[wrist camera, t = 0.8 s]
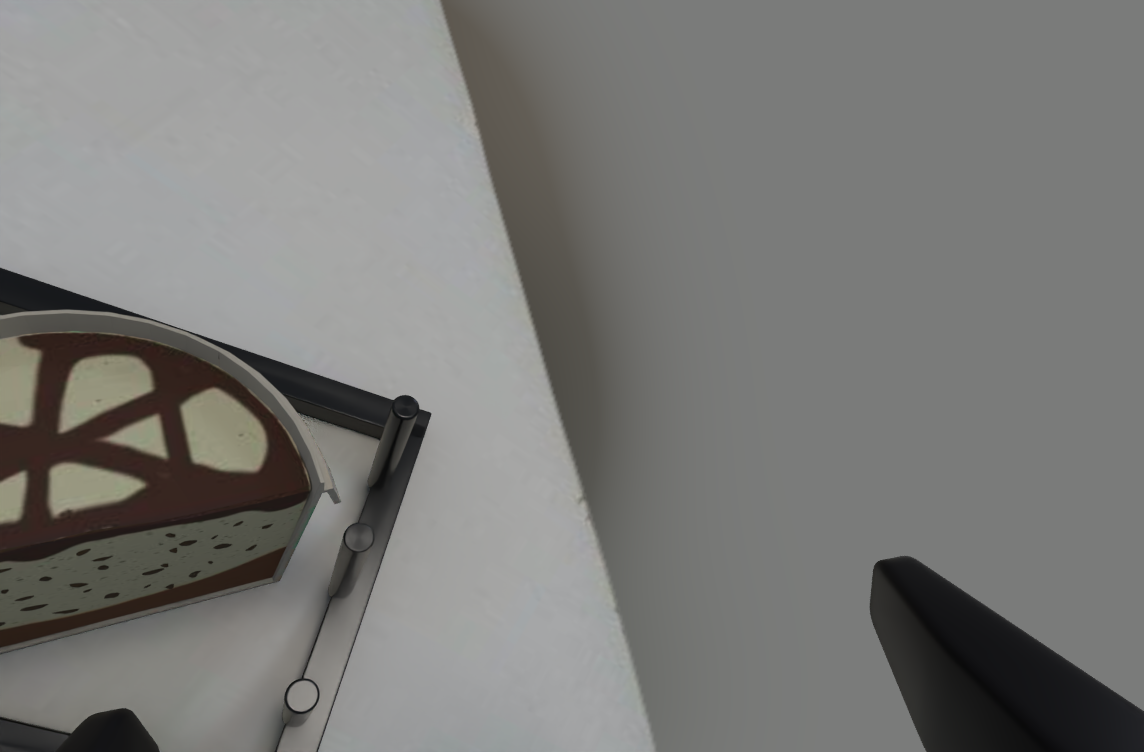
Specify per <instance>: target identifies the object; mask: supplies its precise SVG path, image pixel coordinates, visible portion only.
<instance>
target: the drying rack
mask: <svg viewBox="0 0 1144 752" xmlns="http://www.w3.org/2000/svg"><path fill="white" fill-rule="evenodd" d="M50 310H81V311H97V312H111V313H116V314H121V315H126V316H132V317H137V318H142V319H147V320H152V321H155V322H158V323H161V324H164V325H167V326H170V327H173V328H176V329H179V330H182V331H185V332H188V333H190V334H192V335H195V336H197V337H199V338H201V339H203V340H205V341H207V342H209V343H211V344H213V345H215V346H218V347H220V348H222V349H224V350H226V351H228V352H230V353H231V354H233V355H234V356H235V357H237V358H238V359H240V360H241V361H243V362H244V363H246V364H247V365H249V366H250V367H251V368H253V369H254V370H256V371H257V372H259V373H260V374H261V375H262V376H263V377H264V378H265V379H266V380H267V381H268V382H270V383H271V384H272V385H273V386H274V387H275V388H276V389H277V390H278V391H279V392H280V393H281V394H282V395H283V396H284V397H285V398H286V399H287V400H288V402H289V403H290V404H291V405H292V407H293V408H294V409H295V411H297V412H300V413H303V414H306V415H309V416H312V417H315V418H318V419H321V420H324V421H327V422H330V423H333V424H336V425H340V426H343V427H346V428H349V429H352V430H355V431H358V432H361V433H364V434H367V435H370V436H373V437H376V438H379V439H381V440H380V443H379V446H378V449H377V453H376V456H375V459H374V462H373V465H372V468H371V471H370V475H369V478H368V486H369V488H370V491H369V494H368V497H367V500H366V502H365V505H364V508H363V511H362V513H361V516H360V519H359V522H358V523H355V524H352V525H350V526H349V527H348V528H347V529H346V531H345V533H344V536H343V539H342V542H341V546H340V549H339V553H338V556H337V560H336V563H335V566H334V570H333V573H332V577H331V580H330V584H329V587H328V593H329V596H330V597H331V599H330V602H329V604H328V607H327V610H326V613H325V615H324V618H323V621H322V624H321V626H320V629H319V632H318V635H317V637H316V640H315V643H314V646H313V648H312V651H311V654H310V657H309V660H308V662H307V665H306V668H305V671H304V673H303V676H302V678H301V679H298V680H296V681H294V682H292V683H291V684H290V685H289V687H288V688H287V690H286V692H285V696H284V704H283V712H282V720H283V722H284V724H285V726H284V728H283V731H282V734H281V737H280V740H279V742H278V745H277V748H276V751H275V752H318V749H319V746H320V743H321V740H322V737H323V734H324V731H325V728H326V725H327V722H328V719H329V717H330V714H331V711H332V708H333V705H334V702H335V699H336V696H337V693H338V690H339V687H340V684H341V681H342V678H343V675H344V672H345V669H346V666H347V663H348V660H349V657H350V654H351V651H352V648H353V645H354V642H355V639H356V636H357V633H358V630H359V628H360V625H361V622H362V619H363V616H364V613H365V610H366V607H367V604H368V601H369V598H370V595H371V592H372V589H373V586H374V583H375V580H376V577H377V574H378V571H379V568H380V565H381V562H382V559H383V556H384V553H385V550H386V547H387V544H388V542H389V539H390V536H391V533H392V530H393V527H394V524H395V521H396V518H397V515H398V512H399V509H400V506H401V503H402V500H403V497H404V494H405V491H406V488H407V485H408V482H409V479H410V476H411V473H412V470H413V467H414V464H415V461H416V458H417V455H418V453H419V450H420V447H421V444H422V441H423V438H424V435H425V432H426V429H427V426H428V423H429V420H430V417H431V413H430V412H427V411H424V410H421V409H419V404H418V402H417V401H416V400H415V399H414V398H413V397H411V396H407V395H403V396H399V397H397V398H396V399H395V400H391V399H388V398H385V397H382V396H379V395H376V394H373V393H370V392H367V391H364V390H361V389H358V388H355V387H352V386H349V385H346V384H343V383H340V382H337V381H335V380H332V379H329V378H326V377H323V376H320V375H317V374H314V373H311V372H308V371H305V370H302V369H299V368H296V367H293V366H290V365H287V364H284V363H281V362H278V361H275V360H272V359H269V358H266V357H263V356H260V355H257V354H254V353H251V352H248V351H245V350H242V349H240V348H237V347H234V346H231V345H228V344H225V343H222V342H219V341H216V340H213V339H210V338H207V337H204V336H201V335H198V334H195V333H192V332H189V331H186V330H183V329H180V328H177V327H174V326H171V325H168V324H165V323H162V322H159V321H156V320H153V319H150V318H147V317H145V316H142V315H139V314H136V313H133V312H130V311H127V310H124V309H121V308H118V307H115V306H112V305H109V304H106V303H103V302H100V301H97V300H94V299H91V298H88V297H85V296H82V295H79V294H76V293H73V292H70V291H67V290H64V289H61V288H58V287H55V286H52V285H50V284H47V283H44V282H41V281H38V280H35V279H32V278H29V277H26V276H23V275H20V274H17V273H14V272H11V271H8V270H5V269H2V268H0V315H7V314H13V313H19V312H31V311H50ZM70 735H71V733H67V732H62V731H58V730H54V729H50V728H45V727H41V726H37V725H33V724H28V723H24V722H20V721H16V720H12V719H7V718H3V717H0V752H55V751H56V750H57V749H58V748H59V747H60V745H61V744H62V743H63V742H64V741H65V740H66V739H67V738H68V737H69V736H70Z"/></svg>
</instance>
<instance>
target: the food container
mask: <svg viewBox="0 0 1144 752" xmlns="http://www.w3.org/2000/svg"><path fill="white" fill-rule="evenodd" d="M324 492H328V494H329V495H330V497H331V498H332V500H333V502H334V503H335V504H336V503H340V502H341V500H340V497H339V494H338V492H337V489H336V486H335V483H334V480H333V477H332V474H331V471H330V469H329V467H328V465H327V463H326V461H325V459H324V457H323V455H322V454H321V452H320V450H319V448H318V446H317V444H316V442H315V440H314V438H313V436H312V434H311V433H310V431H309V429H308V427H307V425H306V424H305V423H304V421H303V420H302V419H301V417H300V416H299V415H298V413H297V412H296V411H295V409H294V408H293V407H292V405H291V404H290V403H289V402H288V400H287V399H286V398H285V397H284V396H283V395H282V394H281V393H280V392H279V391H278V390H277V389H276V388H275V387H274V386H273V385H272V384H271V383H270V382H268V381H267V380H266V379H265V378H264V377H263V376H262V375H261V374H260V373H259V372H257V371H256V370H254V369H253V368H251V367H250V366H249V365H247V364H246V363H244V362H243V361H241V360H240V359H238V358H237V357H235V356H234V355H233V354H231V353H230V352H228V351H226V350H224V349H222V348H220V347H218V346H215V345H213V344H211V343H209V342H207V341H205V340H203V339H201V338H199V337H197V336H195V335H192V334H190V333H188V332H185V331H182V330H179V329H176V328H173V327H170V326H167V325H164V324H161V323H158V322H155V321H152V320H147V319H142V318H137V317H132V316H126V315H121V314H116V313H111V312H97V311H81V310H50V311H31V312H19V313H13V314H7V315H1V316H0V654H2V653H6V652H10V651H14V650H18V649H21V648H25V647H29V646H33V645H37V644H41V643H44V642H48V641H52V640H56V639H60V638H63V637H67V636H71V635H75V634H79V633H83V632H86V631H90V630H94V629H98V628H102V627H106V626H109V625H113V624H117V623H121V622H125V621H128V620H132V619H136V618H140V617H144V616H148V615H151V614H155V613H159V612H163V611H167V610H171V609H174V608H178V607H182V606H186V605H190V604H193V603H197V602H201V601H205V600H209V599H213V598H216V597H220V596H224V595H228V594H232V593H236V592H239V591H243V590H247V589H251V588H255V587H258V586H262V585H266V584H270V583H274V582H278V581H280V579H281V577H282V575H283V573H284V571H285V569H286V567H287V565H288V563H289V560H290V558H291V556H292V554H293V552H294V550H295V548H296V546H297V544H298V542H299V540H300V538H301V536H302V534H303V532H304V530H305V527H306V525H307V523H308V521H309V519H310V517H311V515H312V513H313V511H314V509H315V507H316V505H317V503H318V501H319V499H320V497H321V494H322V493H324Z"/></svg>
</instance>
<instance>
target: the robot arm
mask: <svg viewBox="0 0 1144 752" xmlns="http://www.w3.org/2000/svg"><path fill="white" fill-rule="evenodd" d="M870 614H871V619H872V622H873V625H874V628H875V630H876V633H877V635H878V638H879V640H880V642H881V645H882V647H883V650H884V652H885V655H886V657H887V659H888V662H889V664H890V667H891V669H892V672H893V674H894V677H895V679H896V682H897V684H898V686H899V689H900V691H901V694H902V696H903V698H904V701H905V703H906V705H907V708H908V710H909V713H910V715H911V718H912V720H913V723H914V725H915V728H916V730H917V732H918V734H919V736H920V739H921V741H922V743H923V746H924V748H925V750H926V751H927V752H1144V711H1142V710H1141V709H1140V708H1138V707H1137V706H1135V705H1134V704H1132V703H1131V702H1129V701H1127V700H1126V699H1124V698H1123V697H1122V696H1120V695H1118V694H1117V693H1116V692H1114V691H1113V690H1111V689H1110V688H1108V687H1107V686H1105V685H1104V684H1102V683H1101V682H1099V681H1097V680H1096V679H1095V678H1093V677H1092V676H1090V675H1088V674H1087V673H1086V672H1084V671H1083V670H1081V669H1080V668H1078V667H1076V666H1075V665H1074V664H1072V663H1071V662H1069V661H1067V660H1066V659H1065V658H1063V657H1062V656H1060V655H1059V654H1057V653H1055V652H1054V651H1053V650H1051V649H1050V648H1048V647H1047V646H1045V645H1044V644H1042V643H1041V642H1039V641H1038V640H1036V639H1034V638H1033V637H1032V636H1030V635H1029V634H1027V633H1026V632H1024V631H1023V630H1021V629H1020V628H1018V627H1016V626H1015V625H1014V624H1012V623H1010V622H1009V621H1007V620H1006V619H1005V618H1003V617H1002V616H1000V615H999V614H997V613H996V612H994V611H993V610H991V609H990V608H988V607H987V606H985V605H984V604H982V603H981V602H979V601H978V600H976V599H975V598H973V597H971V596H970V595H969V594H967V593H966V592H964V591H963V590H961V589H960V588H958V587H957V586H955V585H954V584H952V583H951V582H949V581H947V580H946V579H945V578H943V577H942V576H940V575H939V574H937V573H936V572H934V571H933V570H931V569H930V568H928V567H927V566H925V565H924V564H922V563H921V562H919V561H917V560H916V559H914V558H912V557H909V556H900V557H895V558H890V559H885V560H880V561H878V562H877V563H876V564H875V566H874V569H873V577H872V588H871V599H870ZM55 752H160V751H159V748H158V746H157V744H156V743H155V741H154V740H153V739H152V737H151V736H150V735H149V733H148V732H147V730H146V729H145V728H144V726H143V725H142V724H141V722H140V721H139V719H138V718H137V717H136V715H135V714H134V713H133V712H132V711H130V710H128V709H126V708H121V709H116V710H111V711H106V712H100V713H96V714H93V715H91V716H89V717H88V718H87V719H85V720H84V721H83V722H82V723H81V724H80V725H79V726H78V727H77V728H76V729H75V731H74V732H73V733H72V734H71V735H70V736H69V737H68V738H67V739H66V740H65V741H64V742H63V743H62V744H61V745H60V747H59V748H58V749H57V750H56V751H55Z"/></svg>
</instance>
